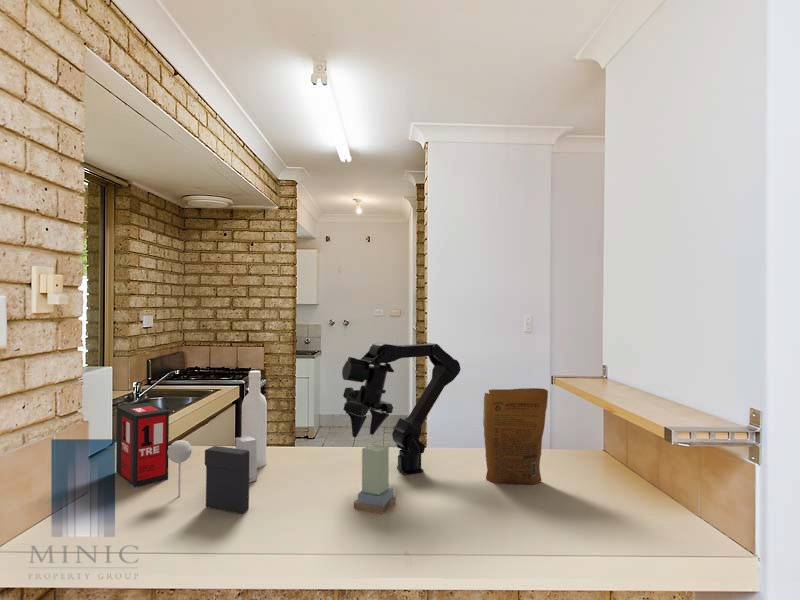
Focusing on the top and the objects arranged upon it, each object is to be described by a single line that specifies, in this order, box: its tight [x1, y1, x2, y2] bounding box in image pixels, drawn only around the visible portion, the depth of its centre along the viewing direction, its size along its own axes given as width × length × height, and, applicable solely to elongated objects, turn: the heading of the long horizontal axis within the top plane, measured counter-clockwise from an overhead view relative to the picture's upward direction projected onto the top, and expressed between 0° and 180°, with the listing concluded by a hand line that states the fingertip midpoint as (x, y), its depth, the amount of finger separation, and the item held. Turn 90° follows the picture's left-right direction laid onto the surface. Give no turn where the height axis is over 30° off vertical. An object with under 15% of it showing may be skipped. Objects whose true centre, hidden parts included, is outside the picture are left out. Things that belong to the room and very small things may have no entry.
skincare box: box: [235, 435, 258, 483], centre depth 145 cm, size 6×4×12 cm
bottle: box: [240, 370, 268, 469], centre depth 157 cm, size 8×8×30 cm
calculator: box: [204, 445, 250, 515], centre depth 125 cm, size 11×4×15 cm, turn 71°
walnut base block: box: [353, 495, 396, 515], centre depth 128 cm, size 8×8×2 cm
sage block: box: [361, 443, 390, 495], centre depth 128 cm, size 5×5×11 cm
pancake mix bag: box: [482, 387, 549, 485], centre depth 145 cm, size 7×19×28 cm, turn 87°
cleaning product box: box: [115, 402, 170, 488], centre depth 147 cm, size 16×9×20 cm, turn 46°
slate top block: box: [357, 487, 394, 507], centre depth 127 cm, size 7×7×2 cm
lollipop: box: [167, 439, 193, 498], centre depth 132 cm, size 6×6×15 cm
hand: (363, 435), depth 147 cm, fingers open, 9 cm apart
